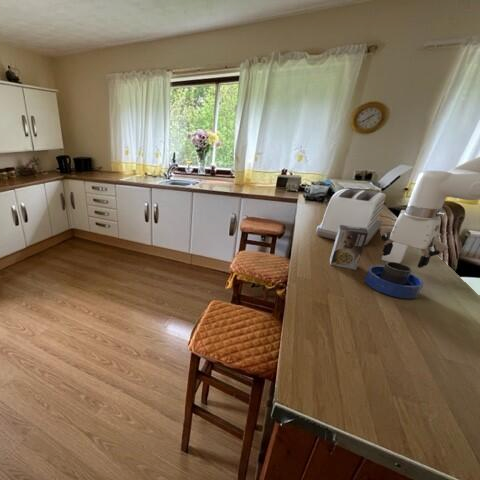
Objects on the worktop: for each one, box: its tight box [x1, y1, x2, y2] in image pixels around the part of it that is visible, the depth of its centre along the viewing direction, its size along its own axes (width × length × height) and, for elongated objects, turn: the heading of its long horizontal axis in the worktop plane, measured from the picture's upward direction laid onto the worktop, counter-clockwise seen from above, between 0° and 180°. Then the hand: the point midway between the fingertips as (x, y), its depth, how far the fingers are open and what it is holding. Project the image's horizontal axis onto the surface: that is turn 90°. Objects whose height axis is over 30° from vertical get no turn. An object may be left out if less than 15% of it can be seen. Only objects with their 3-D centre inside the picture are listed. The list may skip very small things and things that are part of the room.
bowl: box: [364, 265, 425, 300], centre depth 90 cm, size 15×15×5 cm
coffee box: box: [329, 225, 368, 271], centre depth 103 cm, size 9×6×16 cm
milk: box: [380, 209, 409, 264], centre depth 106 cm, size 6×6×22 cm
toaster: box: [315, 188, 387, 246], centre depth 139 cm, size 23×45×22 cm, turn 133°
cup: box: [380, 261, 413, 285], centre depth 89 cm, size 7×7×8 cm
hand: (402, 260), depth 86 cm, fingers open, 9 cm apart
